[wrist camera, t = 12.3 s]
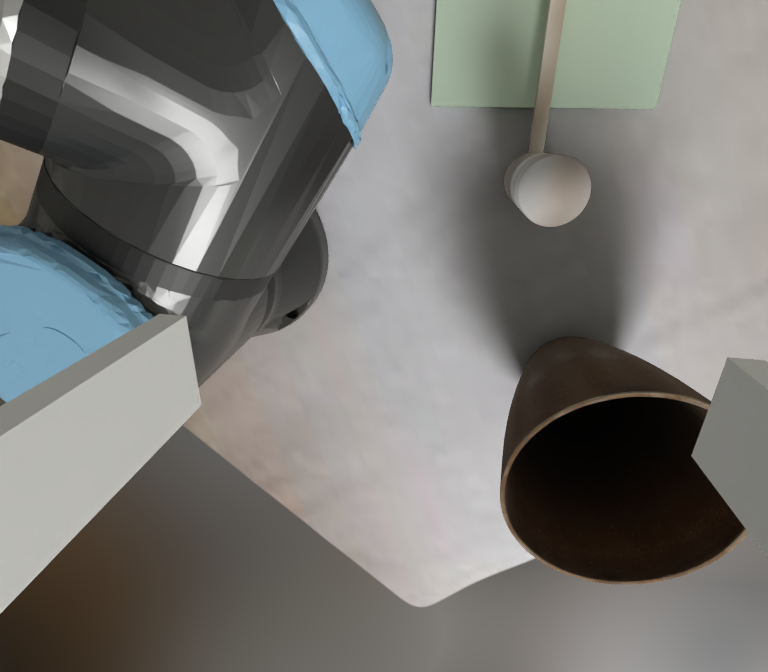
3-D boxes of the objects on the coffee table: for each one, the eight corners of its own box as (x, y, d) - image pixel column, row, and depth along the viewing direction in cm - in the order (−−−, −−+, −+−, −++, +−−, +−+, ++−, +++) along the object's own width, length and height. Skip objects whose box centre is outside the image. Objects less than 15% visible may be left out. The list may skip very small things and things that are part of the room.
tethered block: (494, 205, 35) (506, 225, 27) (532, -123, 27) (565, -234, 19) (560, 208, 35) (592, 228, 26) (618, -127, 27) (689, -244, 19)
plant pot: (669, 419, 42) (782, 568, 27) (510, 455, 46) (535, 600, 31) (637, 273, 37) (754, 359, 23) (464, 328, 41) (468, 429, 27)
